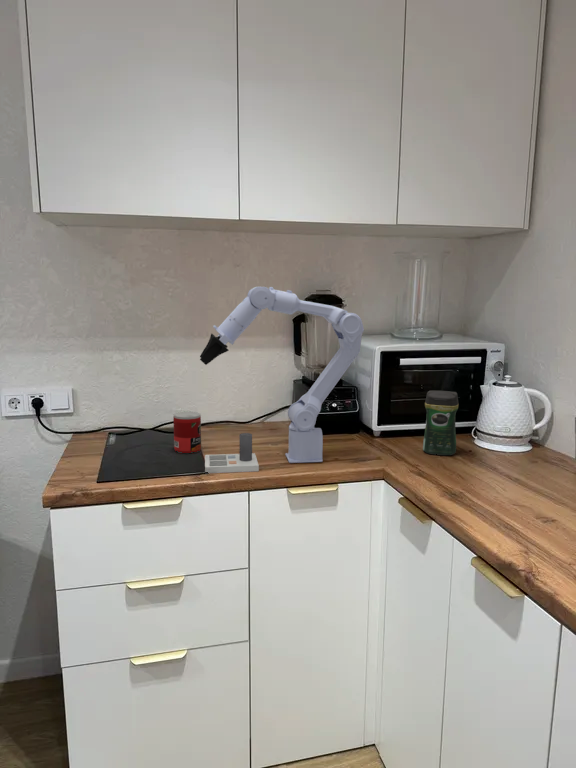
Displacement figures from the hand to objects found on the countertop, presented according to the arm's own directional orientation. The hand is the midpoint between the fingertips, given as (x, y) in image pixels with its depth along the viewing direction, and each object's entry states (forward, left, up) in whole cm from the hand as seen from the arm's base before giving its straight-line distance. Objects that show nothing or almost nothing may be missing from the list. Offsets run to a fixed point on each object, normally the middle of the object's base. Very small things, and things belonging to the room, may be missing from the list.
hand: (202, 360), depth 153 cm
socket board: (-7, +3, -28) cm, 30 cm away
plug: (-11, +3, -27) cm, 29 cm away
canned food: (+5, -13, -29) cm, 32 cm away
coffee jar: (-69, -3, -29) cm, 75 cm away
